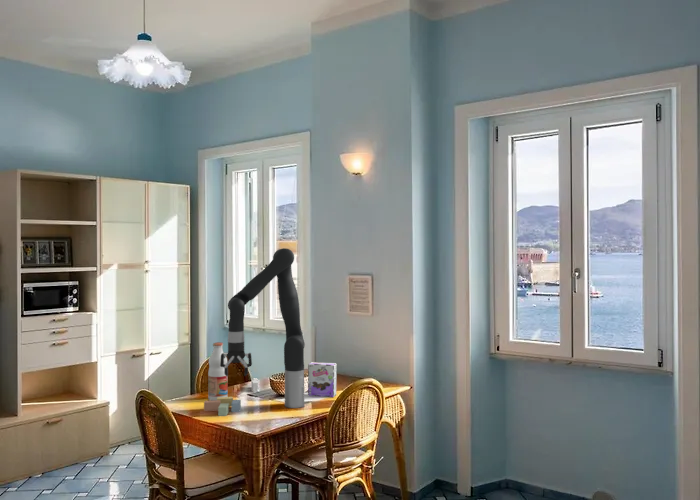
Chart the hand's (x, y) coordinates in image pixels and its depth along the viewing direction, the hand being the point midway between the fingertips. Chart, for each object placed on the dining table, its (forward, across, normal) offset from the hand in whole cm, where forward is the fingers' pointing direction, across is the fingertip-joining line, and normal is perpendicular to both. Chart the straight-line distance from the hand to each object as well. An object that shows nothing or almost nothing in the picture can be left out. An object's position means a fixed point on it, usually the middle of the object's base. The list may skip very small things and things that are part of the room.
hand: (236, 375), depth 287 cm
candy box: (+16, -41, -25) cm, 51 cm away
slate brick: (+16, 0, 0) cm, 16 cm away
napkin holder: (+17, -6, -41) cm, 45 cm away
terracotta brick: (+16, +11, -1) cm, 20 cm away
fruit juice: (+16, +11, -21) cm, 29 cm away
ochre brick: (+16, +6, -8) cm, 19 cm away
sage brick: (+16, +5, +6) cm, 18 cm away
